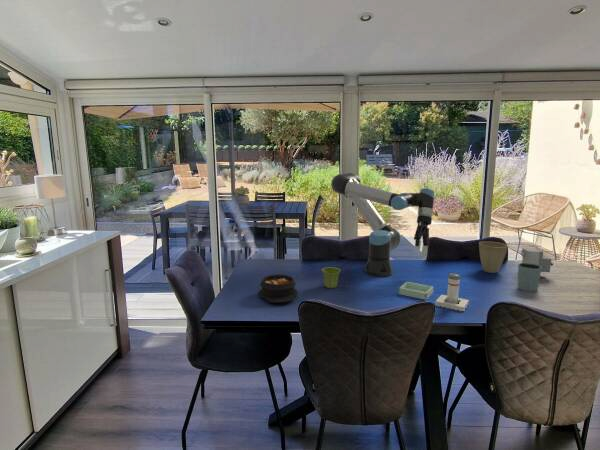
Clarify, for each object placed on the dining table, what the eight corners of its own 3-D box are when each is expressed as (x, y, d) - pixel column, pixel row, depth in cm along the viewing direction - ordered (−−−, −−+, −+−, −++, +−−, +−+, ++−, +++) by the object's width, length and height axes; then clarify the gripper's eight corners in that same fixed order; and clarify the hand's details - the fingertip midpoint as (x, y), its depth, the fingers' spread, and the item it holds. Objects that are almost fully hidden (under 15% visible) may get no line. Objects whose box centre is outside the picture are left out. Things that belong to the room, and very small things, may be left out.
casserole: (301, 305, 175) (301, 287, 174) (260, 307, 172) (259, 289, 171) (293, 286, 199) (293, 270, 198) (257, 288, 196) (256, 272, 195)
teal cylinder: (530, 293, 190) (533, 269, 188) (511, 286, 199) (513, 264, 197) (543, 290, 195) (546, 266, 193) (523, 283, 204) (526, 261, 201)
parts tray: (398, 293, 189) (399, 287, 188) (406, 287, 198) (406, 281, 197) (426, 299, 182) (426, 293, 181) (433, 292, 191) (433, 286, 190)
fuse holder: (435, 305, 175) (435, 301, 175) (441, 298, 183) (441, 294, 183) (463, 311, 168) (463, 307, 168) (468, 304, 176) (468, 300, 176)
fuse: (444, 305, 175) (447, 275, 172) (447, 301, 179) (449, 272, 176) (456, 308, 172) (458, 277, 170) (459, 304, 176) (461, 274, 174)
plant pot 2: (506, 276, 216) (509, 248, 213) (477, 273, 221) (480, 246, 218) (503, 268, 229) (506, 242, 226) (475, 266, 234) (478, 240, 231)
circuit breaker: (552, 279, 211) (555, 252, 208) (523, 277, 214) (526, 251, 211) (546, 274, 218) (550, 249, 216) (518, 273, 221) (521, 247, 218)
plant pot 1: (341, 284, 202) (342, 268, 200) (337, 290, 193) (338, 273, 192) (324, 282, 205) (324, 266, 203) (319, 288, 196) (319, 271, 195)
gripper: (425, 210, 199) (421, 250, 195) (437, 223, 219) (433, 260, 215) (411, 209, 203) (406, 249, 199) (423, 222, 223) (419, 259, 219)
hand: (420, 255), depth 207 cm, fingers open, 13 cm apart
